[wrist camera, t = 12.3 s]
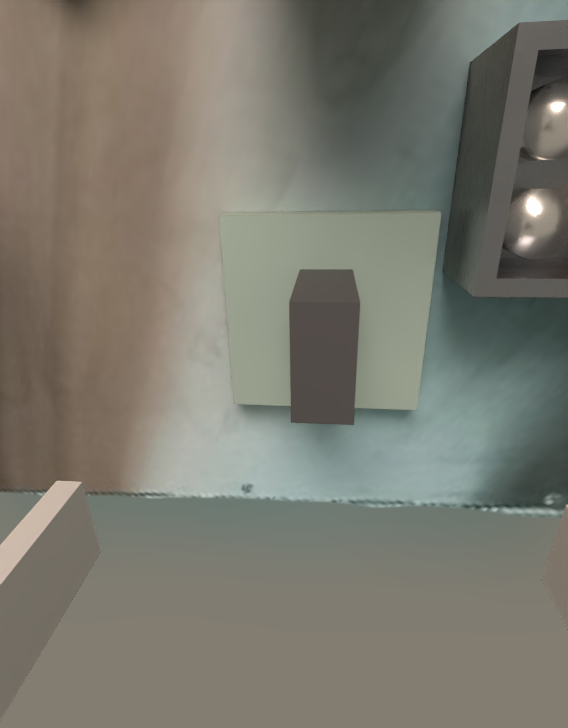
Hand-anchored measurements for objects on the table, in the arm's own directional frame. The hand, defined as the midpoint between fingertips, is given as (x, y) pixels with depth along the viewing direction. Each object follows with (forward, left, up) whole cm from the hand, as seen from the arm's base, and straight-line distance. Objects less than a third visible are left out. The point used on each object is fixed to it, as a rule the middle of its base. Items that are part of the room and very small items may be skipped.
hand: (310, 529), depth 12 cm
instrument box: (+14, +9, -21) cm, 27 cm away
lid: (0, 0, -21) cm, 21 cm away
